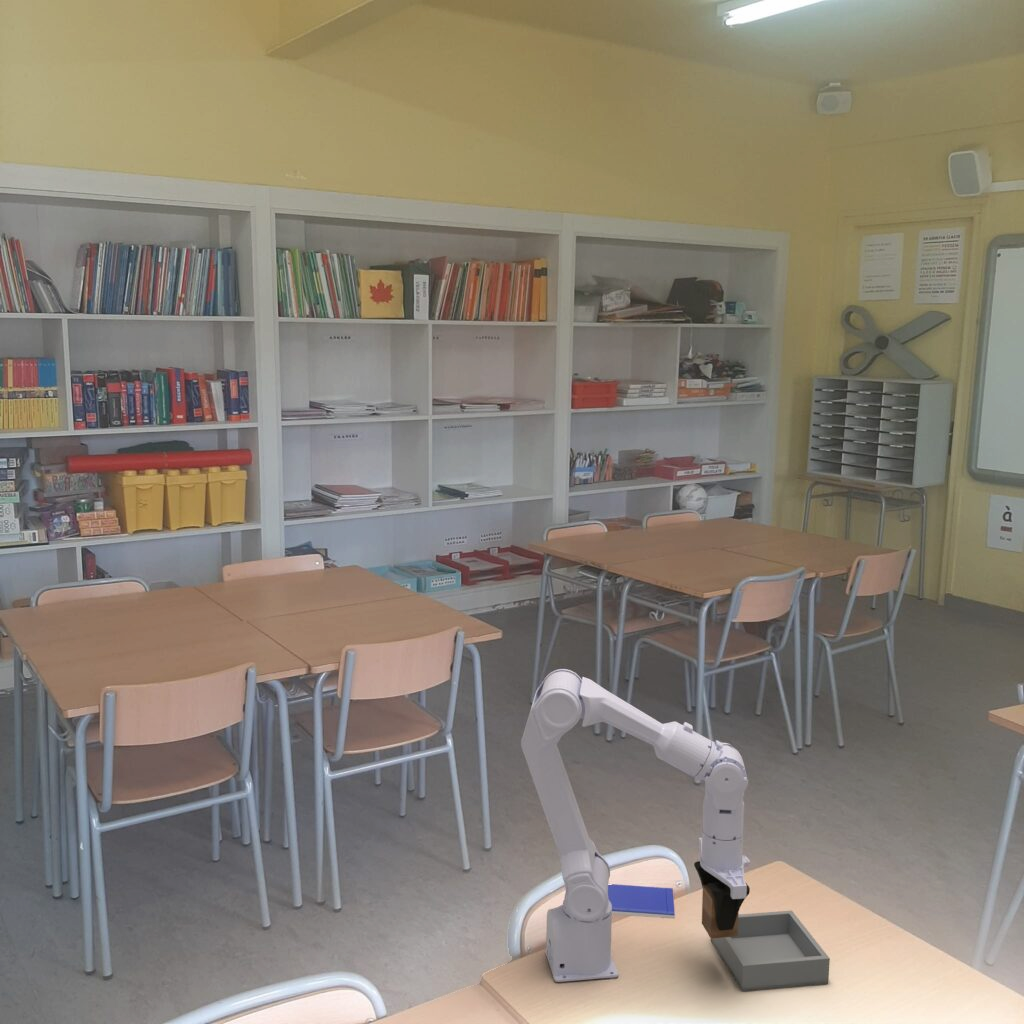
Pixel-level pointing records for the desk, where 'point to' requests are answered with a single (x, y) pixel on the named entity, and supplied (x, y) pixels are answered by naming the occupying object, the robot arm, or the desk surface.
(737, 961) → the grey bin
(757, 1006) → the desk surface
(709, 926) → the walnut block
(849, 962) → the desk surface
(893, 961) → the desk surface
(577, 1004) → the desk surface
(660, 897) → the hard drive
